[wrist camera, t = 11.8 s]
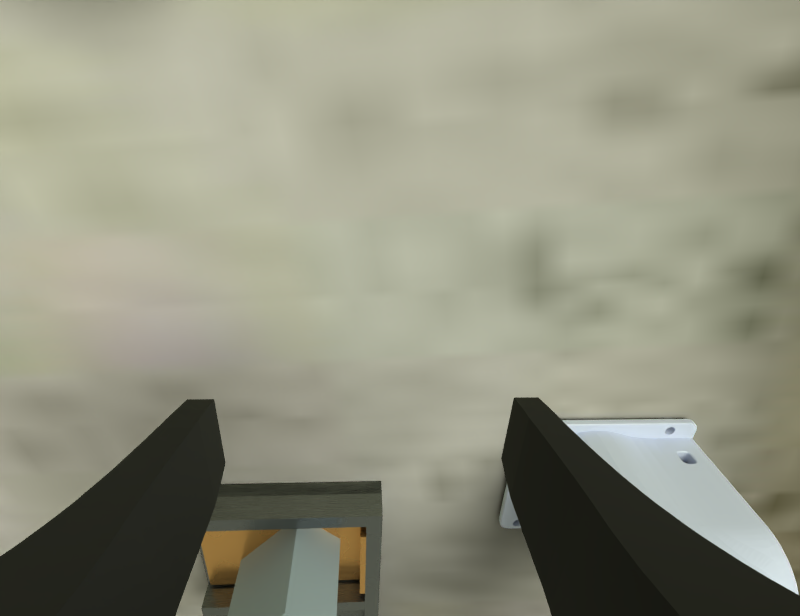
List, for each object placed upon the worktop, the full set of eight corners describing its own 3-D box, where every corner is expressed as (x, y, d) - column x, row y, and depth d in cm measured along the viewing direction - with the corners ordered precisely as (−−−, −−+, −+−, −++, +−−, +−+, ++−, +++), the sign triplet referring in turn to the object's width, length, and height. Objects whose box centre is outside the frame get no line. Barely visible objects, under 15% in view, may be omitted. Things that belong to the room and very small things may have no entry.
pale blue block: (340, 538, 26) (335, 636, 22) (282, 580, 28) (267, 679, 23) (298, 515, 25) (284, 613, 21) (241, 560, 27) (216, 660, 22)
